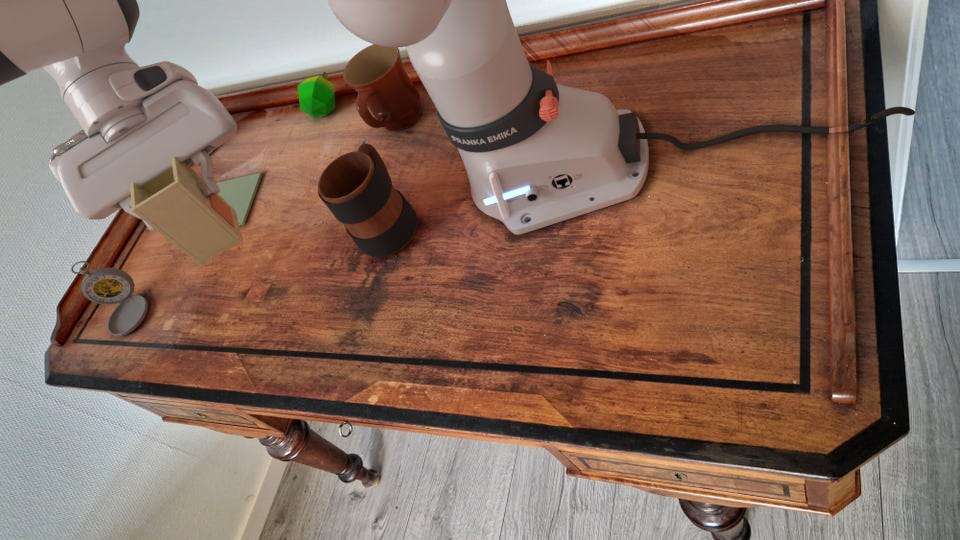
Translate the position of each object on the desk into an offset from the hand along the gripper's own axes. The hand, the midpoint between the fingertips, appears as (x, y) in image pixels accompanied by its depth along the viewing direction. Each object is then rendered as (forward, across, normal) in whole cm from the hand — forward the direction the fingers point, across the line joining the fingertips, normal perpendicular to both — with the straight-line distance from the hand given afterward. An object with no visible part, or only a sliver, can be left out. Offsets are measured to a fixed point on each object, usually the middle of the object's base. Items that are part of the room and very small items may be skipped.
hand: (186, 211), depth 75 cm
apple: (-10, +18, +34) cm, 39 cm away
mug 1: (+1, +26, +23) cm, 35 cm away
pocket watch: (+4, -22, +20) cm, 30 cm away
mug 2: (+13, +18, +10) cm, 25 cm away
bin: (+4, 0, +5) cm, 6 cm away
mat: (-4, -4, +27) cm, 28 cm away
